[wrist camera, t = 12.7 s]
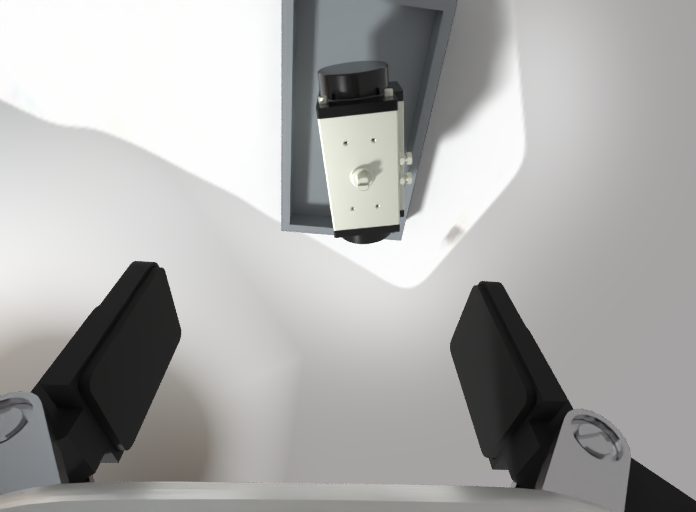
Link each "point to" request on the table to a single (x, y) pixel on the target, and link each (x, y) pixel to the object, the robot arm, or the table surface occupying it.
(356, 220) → the pneumatic valve
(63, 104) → the table surface
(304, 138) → the parts tray
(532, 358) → the robot arm
